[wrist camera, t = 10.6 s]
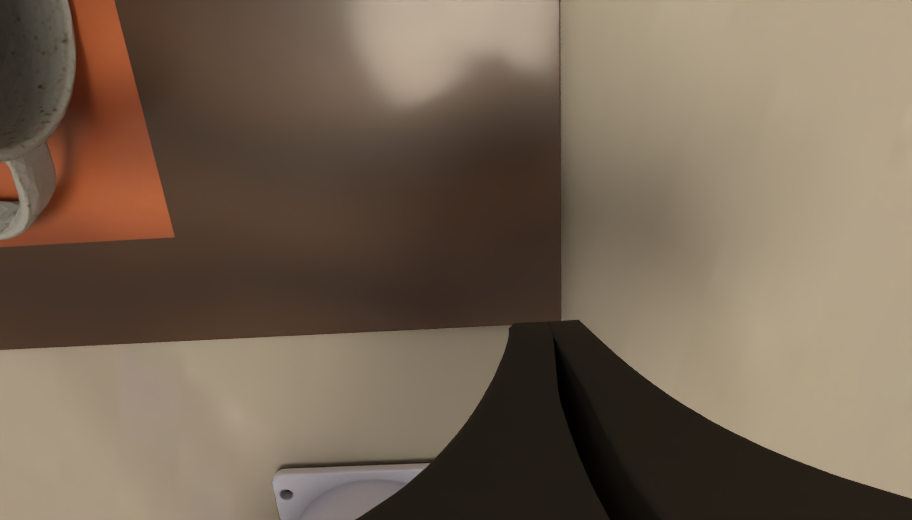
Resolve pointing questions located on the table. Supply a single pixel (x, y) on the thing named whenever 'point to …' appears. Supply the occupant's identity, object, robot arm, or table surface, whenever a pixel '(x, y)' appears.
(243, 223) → the walnut board
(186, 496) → the table surface
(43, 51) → the ceramic mug
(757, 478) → the robot arm
